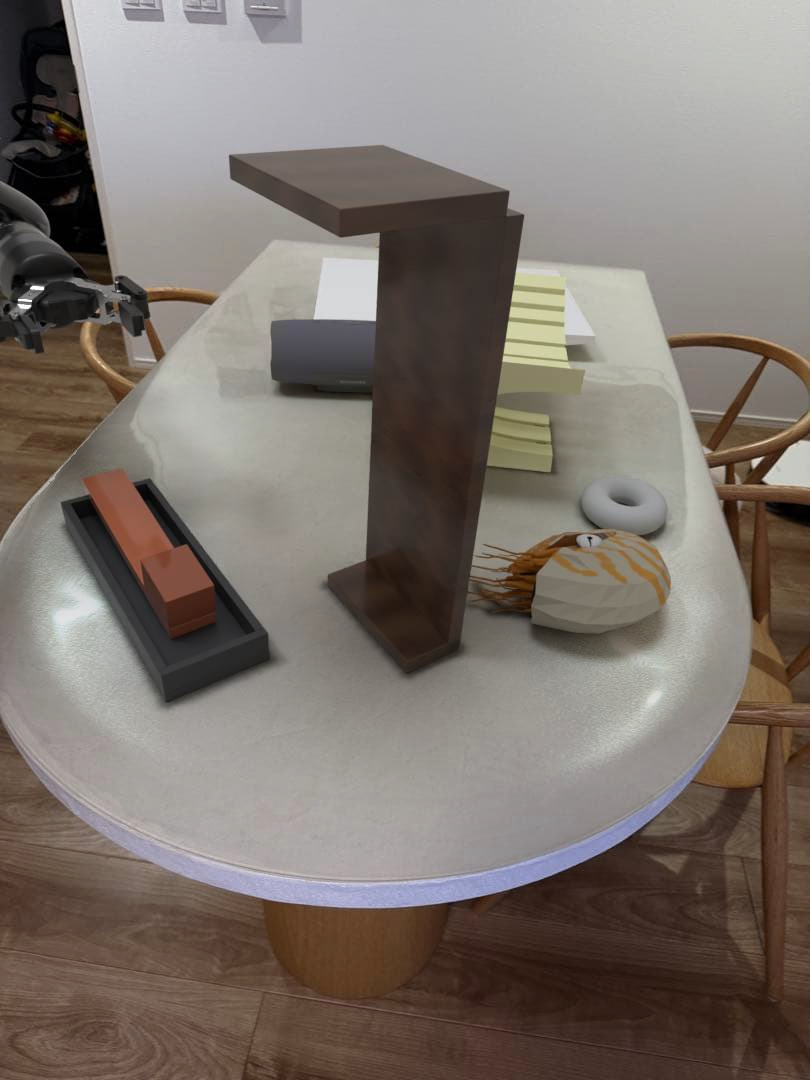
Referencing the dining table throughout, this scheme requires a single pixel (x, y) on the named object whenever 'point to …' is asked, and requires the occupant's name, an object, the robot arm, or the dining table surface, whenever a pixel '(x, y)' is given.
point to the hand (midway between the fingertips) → (89, 334)
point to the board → (355, 296)
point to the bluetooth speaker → (324, 353)
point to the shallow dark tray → (167, 660)
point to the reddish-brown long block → (153, 555)
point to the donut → (637, 517)
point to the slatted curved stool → (532, 372)
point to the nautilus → (584, 580)
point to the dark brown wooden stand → (415, 370)
